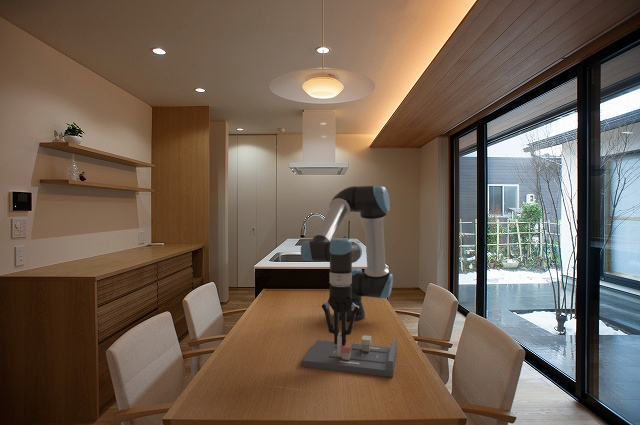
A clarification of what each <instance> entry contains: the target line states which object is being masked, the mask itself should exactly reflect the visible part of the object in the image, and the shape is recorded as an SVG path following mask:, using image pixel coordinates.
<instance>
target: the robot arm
mask: <svg viewBox="0 0 640 425" xmlns="http://www.w3.org/2000/svg"><path fill="white" fill-rule="evenodd" d="M390 204H391V202H390V196H389V191H388V190H387V188H386V187H385V186H381V185H380V186H379V185H362V186H361V185H359V186H357V185H356V186H354V185H353V186H349V187H346V188H344V189H342V190H340V191H339V192H338V193H337V194H335V195H334V197H333V198H332V199H331V201H330V203H329V205H328V206H329V207H328V208H329V209H328V211H326V214H325V216H324V217H323V219H322V221H321V223H320V225H319V227H318V228H317V230H316V232H315V234H314V235H313V237H312V239H311V240H310V239H309V240H304V241H303V242H302V243H301V246H300V256H301V258H302V260H304V261H308V262H310V261H311V262H323V263H329V284H330V285H329V292H328V293H329V294H328V295H329V296H328V299H327V302H323V303H322V305H321V308H322V310H323V312H324V316H325V320H326V325H327V329H328V332H329V334H330V333H331V334H332V335H333V336H334V337H333V338H334V339H333V342H334V343H335V344H337V355H340V356H341V355H342V352H341V346H342V345H345V344H346V343H347V336H348V335H351V333H352V331H353V328H354V324H355V321H360V320H363V319H365V317H366V310H365V308H364V305H363V302H362V297H363V298H364V297H365V298H366V297H367V298H376V299H389V297H390V296H391V294H392V290H393V284H394V274H393V273H390V269H389V268H388V267H387V266H386V252H385V248H386V246H385V233H384V232H385V230H384V229H385V228H384V219H385V217H386V216H387V213H389V212H390V209H391V205H390ZM353 212H354V213H360V214H359V216H360V218H361V219H363V224H364V236H365V237H364V239H365V253H366V256H365V257H366V268H365V269H364V271H363V270H362V268H360V267H357V268H352V267H353V265H352V264H354V263H356V262H358V260H359V259H361V257H362V255H363V254H362V252H363V250H362V247H361V245H360V244H359V243H358V242H356V241H352V239H350V238H335V237H336V235H337V234H338V231H339V230H340V228H341V225H342V223H343V221H344V219H345V218H346V217H347V216H348V215H349V214H350V213H353ZM330 307H331V309H332V311H333V318H332V314H331V311H330ZM340 320H341V333H340ZM347 321H349V323H348V326H347Z"/></svg>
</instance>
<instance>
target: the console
mask: <svg viewBox="0 0 640 425" xmlns="http://www.w3.org/2000/svg"><path fill="white" fill-rule="evenodd" d="M397 342H398V340H397V339H394V338H393V339H392V340H391V343H390V346H381V345H372V344H371V347H370V351H369V352H367V351H362V345H361V344H360V343H352V350H351V357H350V359H349V360H345V359H342V355H341V356H340V355H337V344H335V343H334V341H333V340H332V341H330V340H321V339H317V340H316V341H315V342H314V344H313V345H312V346H311V347H310V348H309V350H308V352H307V353H306V354H305V356H303V357H302V359H301V367H304V368H311V369H312V368H313V369H321V370H329V371H336V372H344V373H346V372H347V373H353V374H363V375H371V376H378V377H388V378H394V373H395V366H396V359H397V353H398V352H397V348H398V347H397Z"/></svg>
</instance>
